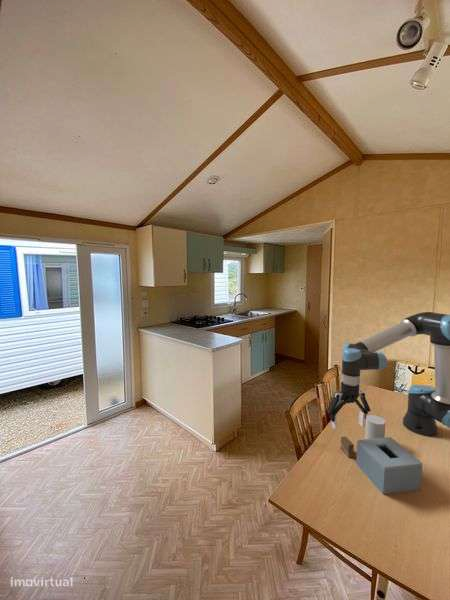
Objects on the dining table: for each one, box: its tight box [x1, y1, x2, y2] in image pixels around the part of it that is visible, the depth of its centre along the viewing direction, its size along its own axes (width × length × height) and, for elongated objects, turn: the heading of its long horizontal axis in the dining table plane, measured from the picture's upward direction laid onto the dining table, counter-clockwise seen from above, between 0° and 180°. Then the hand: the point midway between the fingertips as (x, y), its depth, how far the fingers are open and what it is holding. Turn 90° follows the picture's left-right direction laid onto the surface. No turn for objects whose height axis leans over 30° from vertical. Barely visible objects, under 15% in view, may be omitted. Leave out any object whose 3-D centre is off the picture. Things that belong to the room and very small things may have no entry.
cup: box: [364, 414, 386, 440], centre depth 126 cm, size 8×8×12 cm
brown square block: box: [340, 436, 355, 458], centre depth 120 cm, size 2×6×6 cm, turn 7°
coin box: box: [355, 436, 424, 495], centre depth 106 cm, size 16×16×11 cm
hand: (347, 426), depth 119 cm, fingers open, 13 cm apart
